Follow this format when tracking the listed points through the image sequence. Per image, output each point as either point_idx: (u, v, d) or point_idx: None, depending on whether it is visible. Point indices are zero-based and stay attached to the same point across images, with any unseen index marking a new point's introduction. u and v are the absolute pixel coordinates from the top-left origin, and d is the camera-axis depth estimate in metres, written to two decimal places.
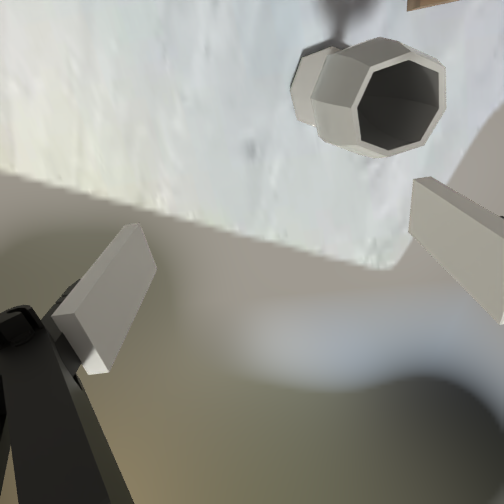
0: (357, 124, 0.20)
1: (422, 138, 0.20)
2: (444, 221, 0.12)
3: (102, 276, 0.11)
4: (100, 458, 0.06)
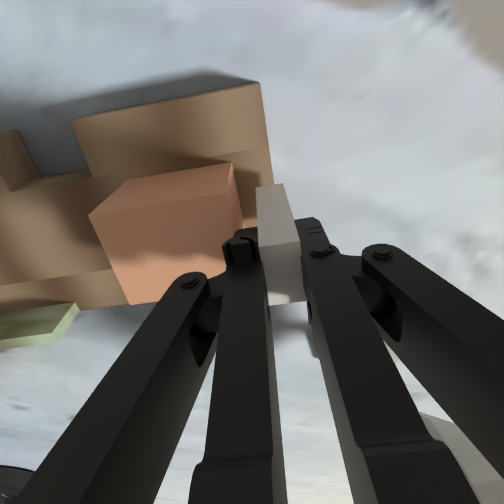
0: None
1: None
2: None
3: None
4: (272, 400, 0.07)
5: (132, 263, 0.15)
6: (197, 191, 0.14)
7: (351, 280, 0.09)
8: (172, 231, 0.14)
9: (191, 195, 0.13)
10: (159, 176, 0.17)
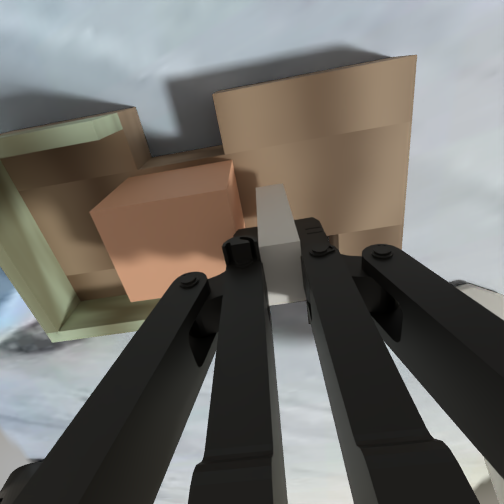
0: None
1: None
2: None
3: None
4: (272, 400, 0.07)
5: (133, 260, 0.15)
6: (198, 187, 0.14)
7: (351, 280, 0.09)
8: (173, 227, 0.14)
9: (192, 191, 0.13)
10: (160, 174, 0.17)
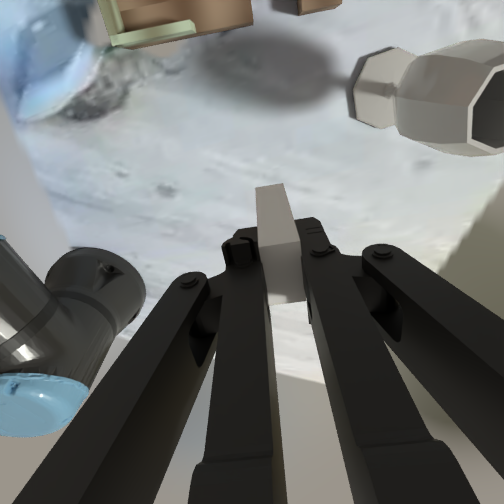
0: None
1: None
2: None
3: None
4: (272, 400, 0.07)
5: None
6: None
7: (351, 280, 0.09)
8: None
9: None
10: None
